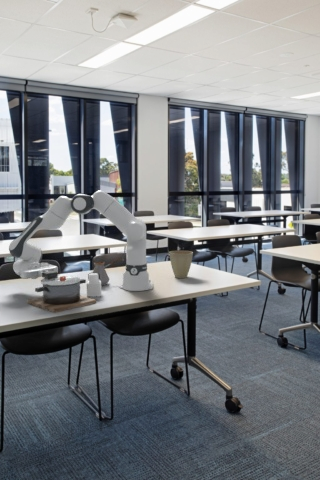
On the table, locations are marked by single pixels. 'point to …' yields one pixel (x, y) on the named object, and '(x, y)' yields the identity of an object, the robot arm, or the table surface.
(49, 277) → the lid
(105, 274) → the coffee pot
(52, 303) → the cooker pot
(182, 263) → the plant pot
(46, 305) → the trivet
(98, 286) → the medicine bottle
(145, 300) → the table surface
